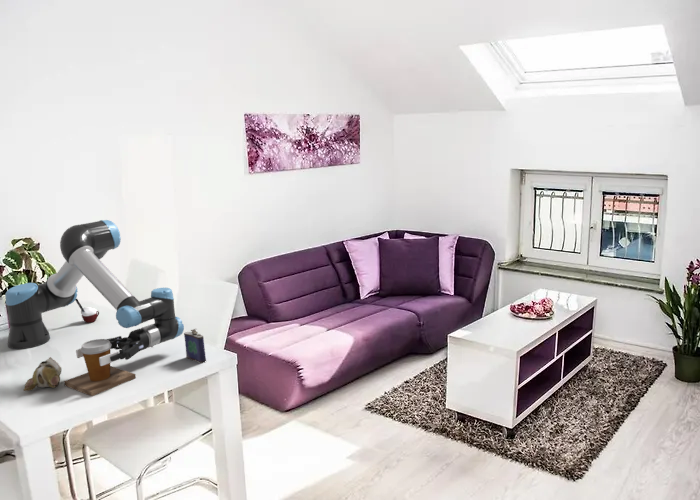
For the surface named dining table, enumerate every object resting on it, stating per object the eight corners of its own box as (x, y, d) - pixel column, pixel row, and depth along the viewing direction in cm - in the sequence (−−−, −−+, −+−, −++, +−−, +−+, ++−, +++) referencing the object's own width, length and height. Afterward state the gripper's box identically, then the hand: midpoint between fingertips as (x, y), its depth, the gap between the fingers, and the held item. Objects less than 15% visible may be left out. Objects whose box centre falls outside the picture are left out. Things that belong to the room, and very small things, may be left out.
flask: (184, 357, 218) (181, 327, 216) (192, 355, 221) (189, 325, 218) (201, 363, 212) (198, 332, 210) (208, 360, 214) (206, 330, 212)
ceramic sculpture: (66, 350, 205) (53, 370, 191) (70, 373, 208) (58, 394, 193) (33, 354, 204) (17, 374, 189) (37, 377, 206) (22, 398, 192)
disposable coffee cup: (104, 384, 194) (99, 349, 192) (78, 382, 196) (73, 348, 194) (121, 372, 203) (116, 338, 201) (96, 371, 205) (91, 338, 203)
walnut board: (64, 385, 198) (64, 381, 198) (108, 368, 211) (107, 364, 211) (92, 396, 189) (91, 391, 189) (135, 378, 202) (135, 374, 201)
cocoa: (99, 318, 272) (95, 292, 269) (102, 321, 266) (98, 295, 264) (76, 322, 267) (72, 296, 264) (78, 325, 261) (75, 299, 259)
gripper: (167, 354, 206) (111, 376, 189) (124, 342, 220) (69, 361, 204) (164, 333, 205) (109, 354, 188) (121, 322, 219) (66, 340, 202)
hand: (88, 358), depth 196 cm, fingers open, 13 cm apart
